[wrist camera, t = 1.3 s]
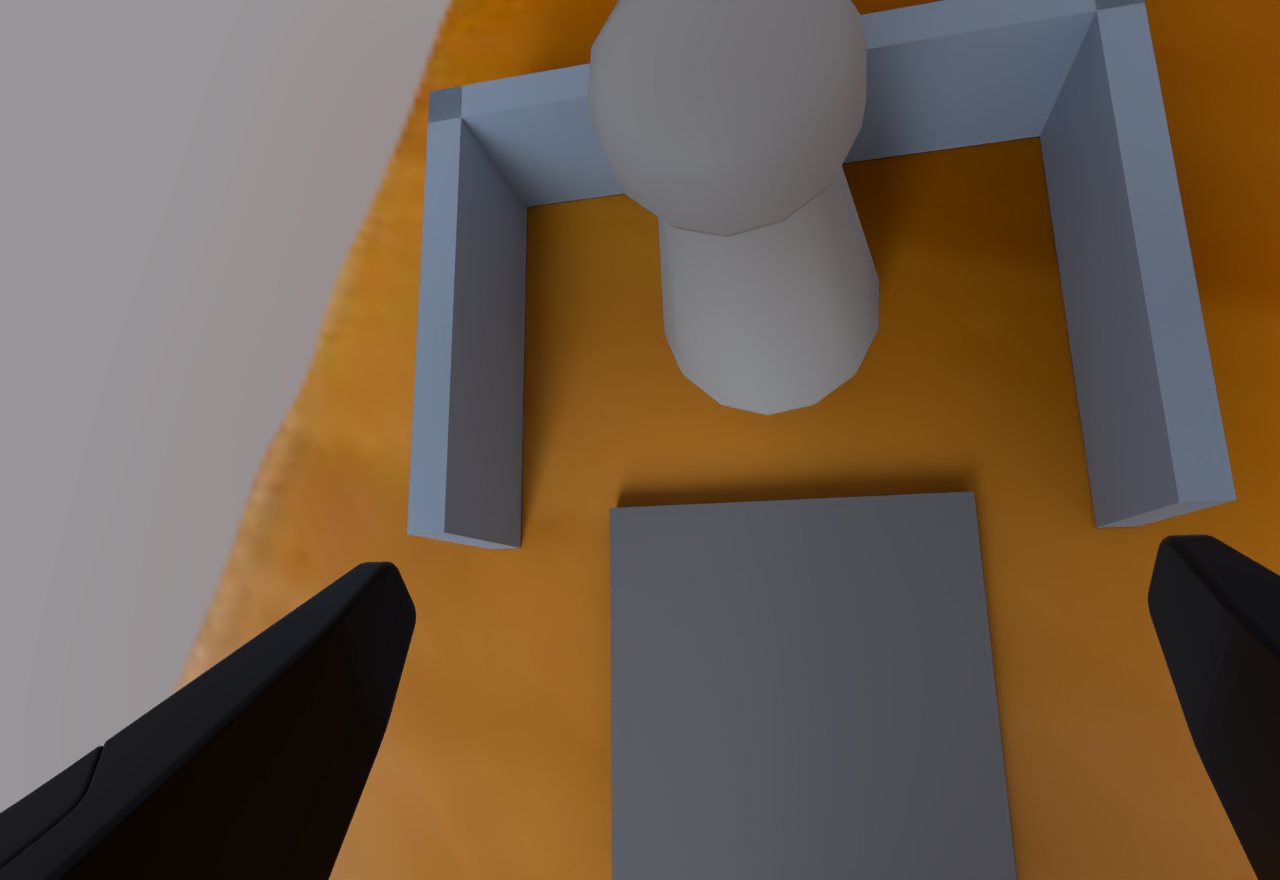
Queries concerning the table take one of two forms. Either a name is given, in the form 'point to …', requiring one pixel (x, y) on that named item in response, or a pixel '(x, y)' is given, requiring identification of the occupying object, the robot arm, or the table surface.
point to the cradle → (892, 126)
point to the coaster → (805, 693)
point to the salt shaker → (745, 186)
